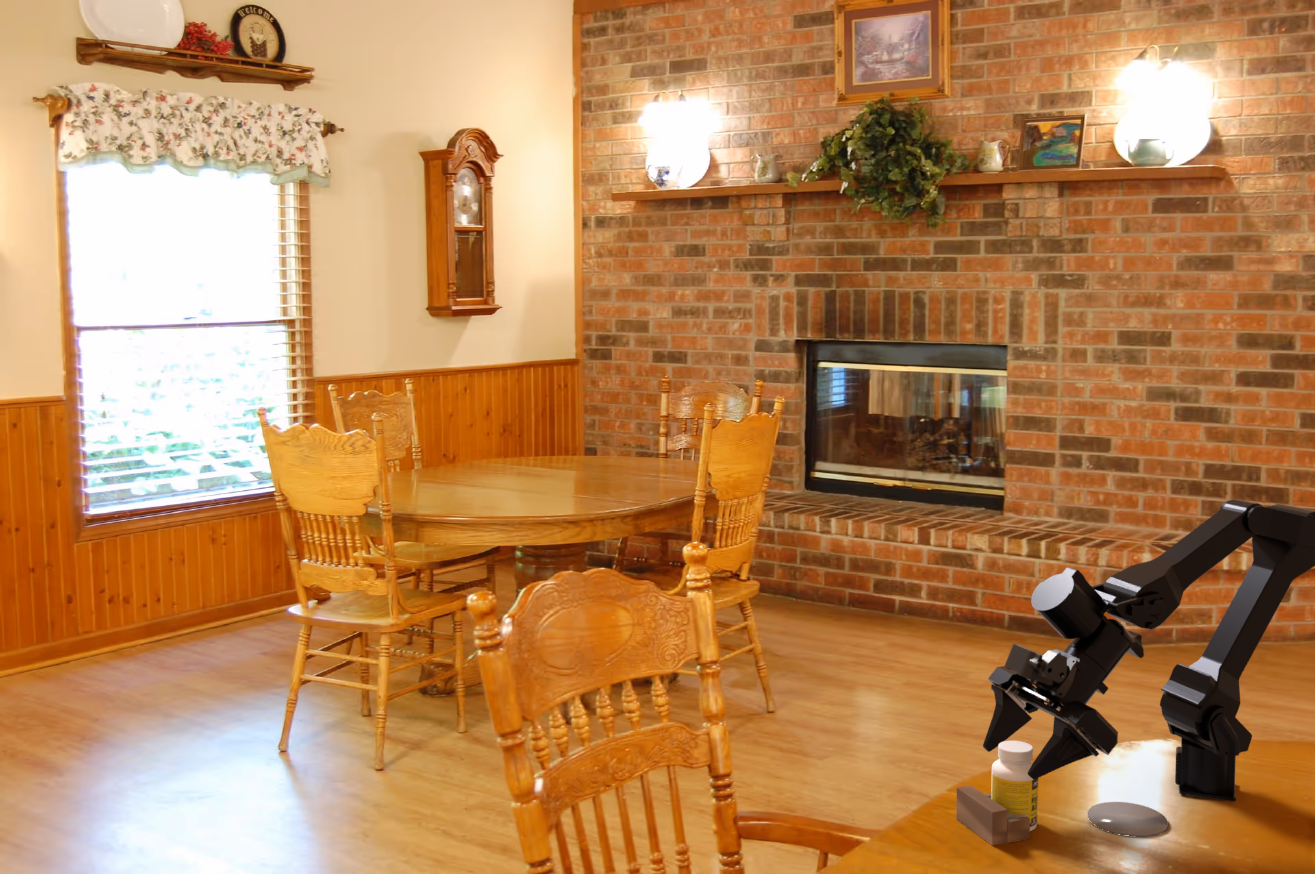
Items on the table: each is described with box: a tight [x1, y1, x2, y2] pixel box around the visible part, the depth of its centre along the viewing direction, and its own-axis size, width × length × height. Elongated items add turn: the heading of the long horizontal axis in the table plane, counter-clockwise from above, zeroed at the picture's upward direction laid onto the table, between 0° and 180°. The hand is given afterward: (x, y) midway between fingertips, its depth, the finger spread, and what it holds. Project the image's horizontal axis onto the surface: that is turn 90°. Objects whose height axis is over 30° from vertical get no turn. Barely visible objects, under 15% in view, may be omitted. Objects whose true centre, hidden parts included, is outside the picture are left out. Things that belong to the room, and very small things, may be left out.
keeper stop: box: [956, 785, 1031, 846], centre depth 147 cm, size 5×8×4 cm, turn 18°
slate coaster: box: [1087, 801, 1168, 838], centre depth 149 cm, size 9×9×1 cm
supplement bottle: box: [990, 740, 1039, 832], centre depth 148 cm, size 5×5×10 cm
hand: (1007, 762), depth 147 cm, fingers open, 9 cm apart
